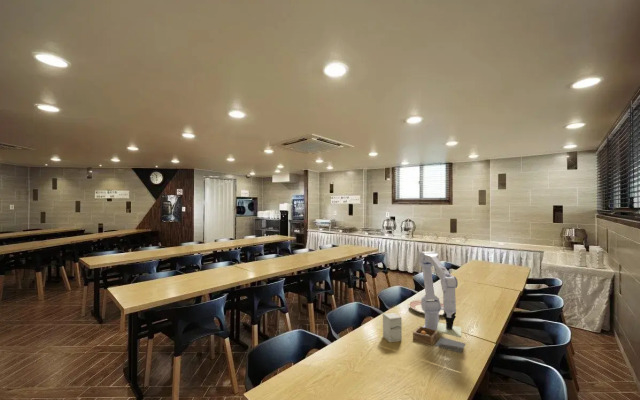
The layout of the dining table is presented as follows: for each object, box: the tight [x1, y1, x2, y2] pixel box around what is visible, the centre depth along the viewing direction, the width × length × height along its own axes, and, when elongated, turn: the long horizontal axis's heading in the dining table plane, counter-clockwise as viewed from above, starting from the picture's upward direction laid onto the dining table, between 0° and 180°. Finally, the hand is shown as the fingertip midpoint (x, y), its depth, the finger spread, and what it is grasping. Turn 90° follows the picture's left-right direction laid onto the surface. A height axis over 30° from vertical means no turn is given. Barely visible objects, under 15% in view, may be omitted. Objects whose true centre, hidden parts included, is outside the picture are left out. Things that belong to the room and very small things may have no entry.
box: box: [412, 325, 439, 346], centre depth 146 cm, size 10×10×4 cm
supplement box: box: [382, 312, 403, 343], centre depth 146 cm, size 7×7×13 cm
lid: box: [436, 321, 462, 338], centre depth 139 cm, size 11×11×4 cm
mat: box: [434, 336, 466, 354], centre depth 139 cm, size 12×12×1 cm
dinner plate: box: [408, 299, 444, 317], centre depth 187 cm, size 27×27×3 cm
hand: (449, 327), depth 139 cm, fingers closed on lid, 3 cm apart
